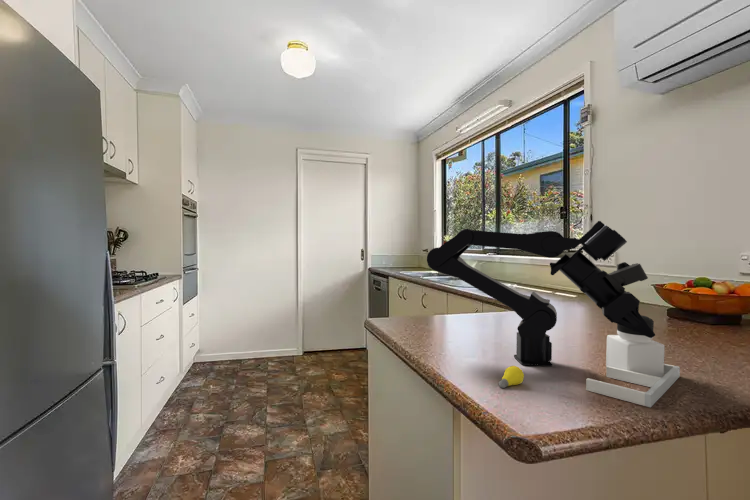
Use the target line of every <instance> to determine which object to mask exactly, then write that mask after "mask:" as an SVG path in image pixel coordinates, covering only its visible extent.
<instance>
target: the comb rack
mask: <svg viewBox="0 0 750 500" xmlns="http://www.w3.org/2000/svg"><path fill="white" fill-rule="evenodd" d="M605 367H606V366H605ZM680 369H681V368H680V366H678V365H672V364H667V363H664V376H663V377H662V378H661V377H656V376H651V375H647V374H642V373H638V372H633V371H628V370H624V369H619V368H614V367H610V366H607V367H606V369H605V371H606V372H605V373H606V375H605V376H606V377H605V378H609V379H614V380H618V381H622V382H626V383H627V382H628V383H632V384H635V385H640V386H644V387H647V388H649V389H648V390H647V391H642V390H637V389H633V388H629V387H625V386H622V385H617V384H614V383H609V382H605V381H601V380H597V379H594V378H589V377H588V378H586V380H585V391H588V392H592V393H595V394H599V395H603V396H607V397H610V398H615V399H617V400H622V401H625V402H629V403H632V404H636V405H640V406H644V407H647V408H652V407H653V406H654V405H655V404H656V402H658V400H659V399H660V398H661V397H662V396H663V395H664V394H665V393H666V392H667V391H668V390H669V389H670V387H671V386H672V385H673V384H674V383H675V382H676V381H677V380H678V379H679V378H680V374H681V373H680V371H681V370H680Z"/></svg>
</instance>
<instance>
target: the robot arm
mask: <svg viewBox="0 0 750 500" xmlns="http://www.w3.org/2000/svg"><path fill="white" fill-rule="evenodd" d="M627 243H628V241H627V240H626V239H625V238H624V237H623V236H622V235H621V234H620V233H619V232H618V231H616V230H615V229H612V228H611V227H610V226H608V225H607V224H605V223H603V222H602V220H598V221H596V222H595V223H594V224H593V225H592V227H591V228H590V229H589V230H588V231H587V232H585V234H584V235H582V236H581V237H580V238H576V237H575V236H574V237H573V238H572V237H565V236H563V235H562V234H561V233H560V232H558V231H553V230H548V231H547V230H546V231H535V232H527V233H514V232H513V233H512V232H499V231H487V230H473V229H471V228H463V229H461V230H460V231H459V232H458V233H457V234H456V235H454V236H453V237H452V238H450V239H448V240H447V241H445V242H444V243H443V244H442V245H440V246H439V247H433V248H431V249H430V250H429V251H428V253H427V256H426V262H427V266H428V267H429V268H430V269H431V270H433V271H435V272H437V273H441V274H443V275H446V276H449V277H454V278H457V279H459V280H461V281H463V282H464V283H466V284H468V285H469V286H472V287H474V288H475V289H477V290H478V291H480V292H482V293H484V294H485V295H487V296H489V297H491V298H492V299H494V300H496V301H498V302H499V303H501V304H503V305H505V306H507V307H508V308H510V309H511V310H512V311H513V312H515V314H517V316H518V317H519V318H520V319H522V320H520V323H519V324H518V326H517V331H518V332H517V331H516V354H513V357H514V359H515V360H517V361H518V362H519V364H521V365H523V366H546V367H547V366H548V367H552V366H553V362H551V361H552V358H553V357H552V356H553V355H552V354H553V353H552V352H553V343H552V341H550V335H549V334H546V333H547V331H551V330H552V329H554V327H555V326H556V324H557V321H558V316H557V315H558V314H557V313H558V312H557V309H556V307H555V306H554V305H553V304H552V303H550V302H551V300H550V299H548V298H544V297H541V296H540V295H539V294H538V293H537V292H535V291H532V292H531V293H530V295H526V294H523V293H521V292H519V291H517V290H515V289H513V288H511V287H509V286H508V285H506V284H504V283H502V282H500V281H498V280H497V279H495V278H494V277H491V276H490V275H488V274H486V273H484V272H482V271H480V270H479V269H476V268H475V267H473V266H471V265H470V264H468V262H466V261H465V260H464V259H463V258H462V257H461V256H462V255H463V254H464V253H465V252H466V251H467V250H468V249H469V248H470V247H471V246H481V247H489V248H490V247H491V248H498V249H499V248H501V249H511V250H519V251H523V252H527V253H530V254H534V255H539V256H542V257H546V258H556V257H559V256H560V255H561V254H563V253H564V251H568V250H573V249H576V248H578V246H579V245H581V247H580V248H579V249H577V250H576V251H575V252H574V253H572V255H570V256H569V255H568V254H566V253H565V254H564V255H562V256H561V257H560V258H559V259H558V260H557V261H556V262H550V263H549V266H550V276H555V274H557V273H558V272H559V271H560V273H562V274H563V275H564V276H565V277H566V278H567V279H568V280H569V281H570V282H571V283H573V285H575V286H576V287H577V288H578V289H579V290H580V291H581V292H582V293H583V294H584V295H586V296H587V297H588V298H589V299H590V300H591V301H592V302H594V304H595V305H596V306H597V307H598V308H599V309H600V310H601V313H602V315H603V317H605V318H606V319H607V320H608V321H610V323H611V324H612V323H614V324H616V325H617V324H619V325H621V326H624V327H626V328H628V329H631V330H633V331H635V332H638V333H640V334H642V335H644V336H647V337H649V338H652V337H653V338H654V337H655V336H656V333H655V332H654V330H653V331H652V329H651V328H650V327H649V325H648V324H647V323H646V321H645V320H644V319H643V317H642V316H641V315H642V314H640V312H639V309H640V302H641V300H640V299H638V297H636V296H635V295H634V294H632V293H631V292H630V291H626V288H625V287H626V286H629V285H631V284H634V283H637V282H644V281H645V280H647V279H649V277H648V276H647V275H648V274H646V271H645V270H644V268H643V267H642V264H641V263H637V262H635V263H632V264H629V263H628V262H624V261H623V262H620V263H618V264H616V270H613V271H612V272H606V271H605V270H604V269H602V270H601V269H600V267H598V266H597V265H596V264H595V263H593V261H595V262H597V261H599V260H602V261H603V262H605V261H606V260H608V259H609V258H610V257H611V256H612V255H614V254H616V252H617V251H619V249H621V248H622V247H623V246H625V244H627ZM582 251H583V252H585V253H586V254H587V255H588V256H589V257H590V258H592V260H593V261H592V260H591V259H589V258H588V257H587V256H586V255H585V254H583V253H582ZM653 338H652V339H653Z"/></svg>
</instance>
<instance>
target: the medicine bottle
mask: <svg viewBox="0 0 750 500" xmlns="http://www.w3.org/2000/svg"><path fill="white" fill-rule="evenodd" d="M640 315H641V316H642V317H643V319H644V320H645V321H646V323H647V324H648V325H649V327H650V328H651V329H652V331H653V332H654V325H655V324H654V320H653V319H652V318H650V317H648V316H646V315H642V314H640ZM665 349H666V347H665V344H663V343H661V342H658V341H656V340H654V337H652V338H649V337H647V336H644V335H642V334H640V333H638V332H635V331H633V330H631V329H628V328H626V327H624V326H621V325H619V324H616V334H608V335H607V336H606V355H605V357H606V358H605V359H606V360H605V367H607V366H610V367H614V368H619V369H624V370H628V371H633V372H638V373H642V374H647V375H651V376H656V377H661V378H662V377H663V376H664V364H665Z"/></svg>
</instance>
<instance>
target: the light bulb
mask: <svg viewBox="0 0 750 500" xmlns="http://www.w3.org/2000/svg"><path fill="white" fill-rule="evenodd" d="M524 376H525V374H524V372H523V370H522V369H521V368H520V367H519V366H516V365H510V366H509V367H506V368H505V369H504V373H503V376H502V377H501V380H499V381H498V387H499V388H502V389H505V388H507V387H510V386H518V385H520V384H522V383H523V381H524V379H525V377H524Z"/></svg>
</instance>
